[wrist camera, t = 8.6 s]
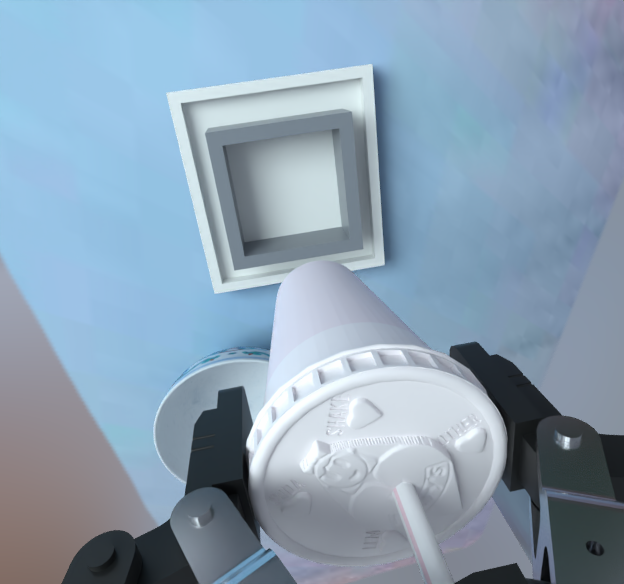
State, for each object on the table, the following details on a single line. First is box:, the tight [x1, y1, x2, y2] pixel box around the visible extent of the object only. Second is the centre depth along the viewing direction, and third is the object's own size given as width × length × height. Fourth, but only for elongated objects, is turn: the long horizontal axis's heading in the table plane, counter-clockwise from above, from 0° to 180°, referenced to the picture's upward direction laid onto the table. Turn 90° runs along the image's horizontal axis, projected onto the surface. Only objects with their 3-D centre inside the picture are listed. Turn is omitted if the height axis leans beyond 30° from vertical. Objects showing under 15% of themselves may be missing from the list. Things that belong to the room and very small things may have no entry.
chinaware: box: [154, 347, 270, 484], centre depth 43 cm, size 15×15×8 cm
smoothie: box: [246, 260, 508, 584], centre depth 13 cm, size 6×6×14 cm
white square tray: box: [166, 64, 385, 294], centre depth 37 cm, size 15×16×5 cm
